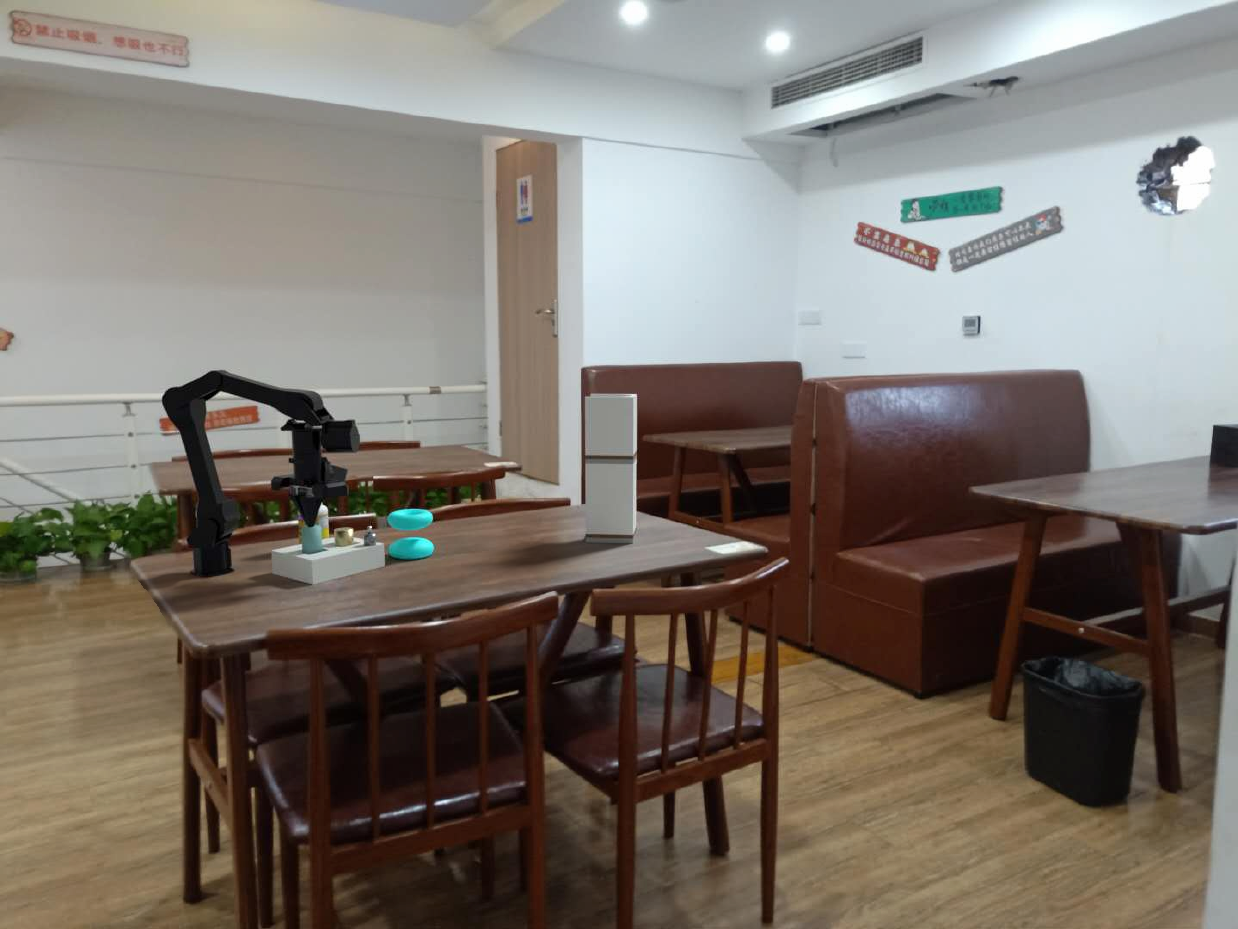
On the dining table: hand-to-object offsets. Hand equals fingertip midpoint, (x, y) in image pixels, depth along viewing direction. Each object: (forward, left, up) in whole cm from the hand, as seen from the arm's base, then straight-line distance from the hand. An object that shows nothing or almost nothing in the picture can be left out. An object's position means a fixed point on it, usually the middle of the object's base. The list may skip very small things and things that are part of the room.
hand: (310, 527), depth 189 cm
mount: (+4, 0, -10) cm, 11 cm away
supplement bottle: (+13, +18, -10) cm, 24 cm away
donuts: (+23, -4, -10) cm, 26 cm away
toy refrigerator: (+64, -30, -10) cm, 71 cm away
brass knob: (+8, 0, -9) cm, 12 cm away
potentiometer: (+11, -6, -5) cm, 13 cm away
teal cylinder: (0, 0, -7) cm, 7 cm away
